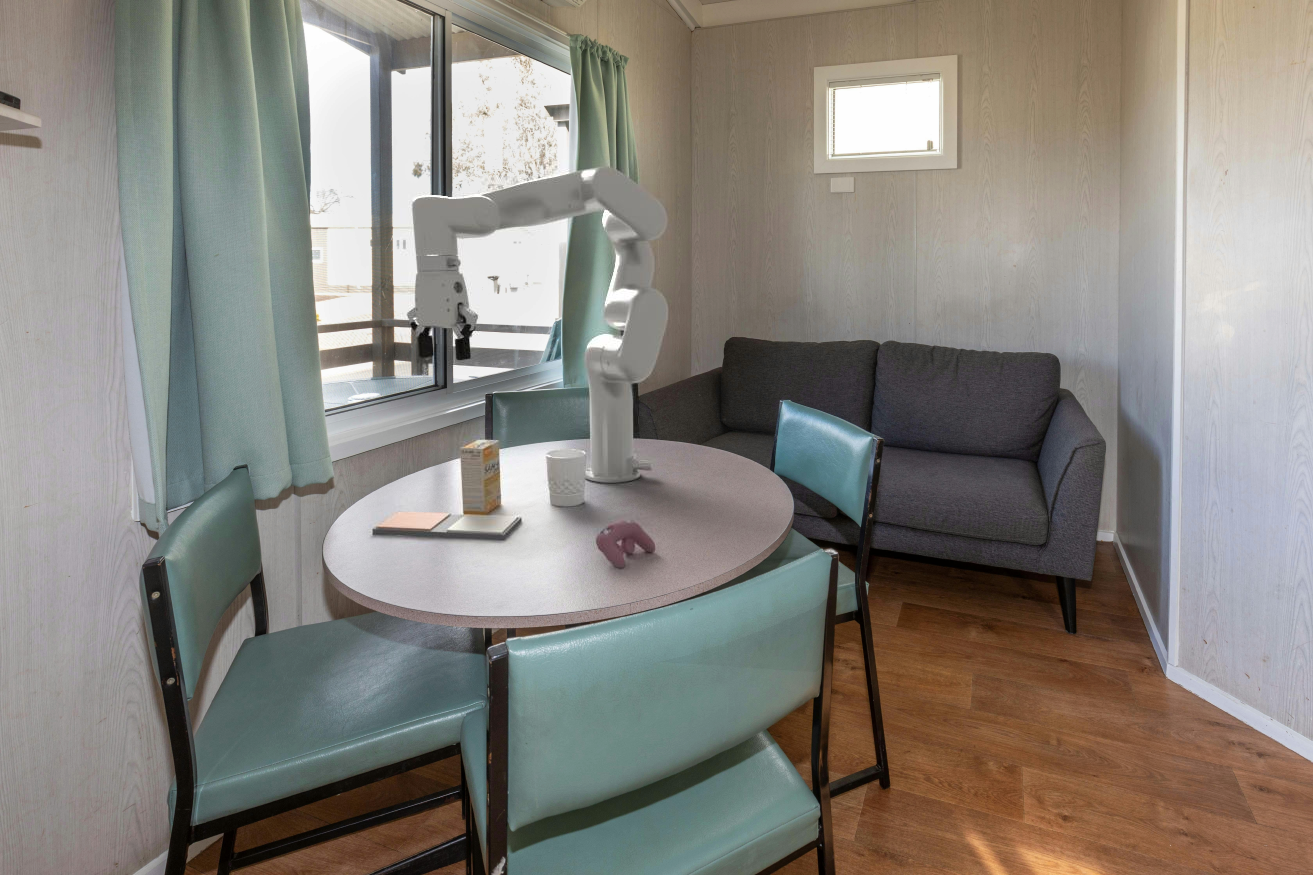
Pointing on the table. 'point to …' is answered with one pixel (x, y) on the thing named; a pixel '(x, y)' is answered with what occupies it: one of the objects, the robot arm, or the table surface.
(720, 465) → the table surface
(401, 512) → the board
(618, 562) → the video game controller
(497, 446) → the supplement box
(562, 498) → the white cup
